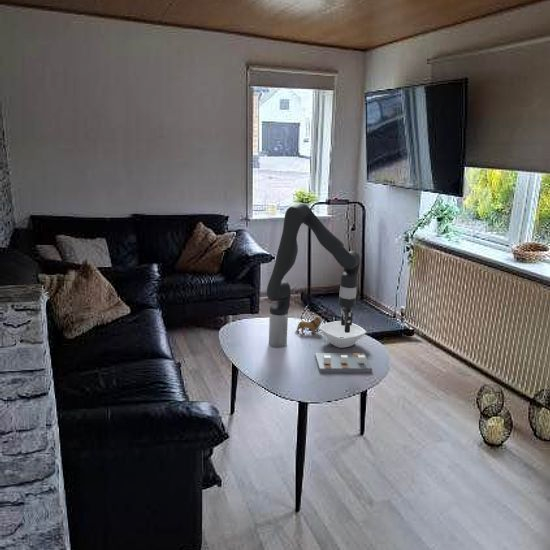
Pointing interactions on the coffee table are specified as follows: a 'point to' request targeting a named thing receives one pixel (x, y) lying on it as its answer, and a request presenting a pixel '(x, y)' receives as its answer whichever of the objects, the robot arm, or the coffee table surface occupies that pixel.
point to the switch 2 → (344, 359)
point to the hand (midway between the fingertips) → (345, 328)
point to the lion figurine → (309, 325)
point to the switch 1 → (327, 359)
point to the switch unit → (342, 367)
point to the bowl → (342, 333)
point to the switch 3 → (361, 359)
